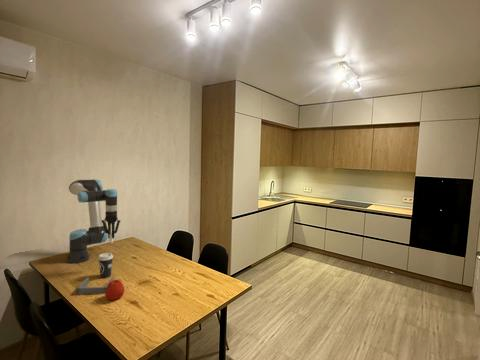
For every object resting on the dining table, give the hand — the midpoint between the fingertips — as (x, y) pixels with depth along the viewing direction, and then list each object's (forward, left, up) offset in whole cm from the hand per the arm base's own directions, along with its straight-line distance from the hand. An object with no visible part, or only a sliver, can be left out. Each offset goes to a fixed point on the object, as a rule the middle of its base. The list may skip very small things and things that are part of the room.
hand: (111, 242), depth 190 cm
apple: (+40, +15, -20) cm, 47 cm away
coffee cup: (+11, 0, -20) cm, 23 cm away
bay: (+27, 0, -20) cm, 34 cm away
